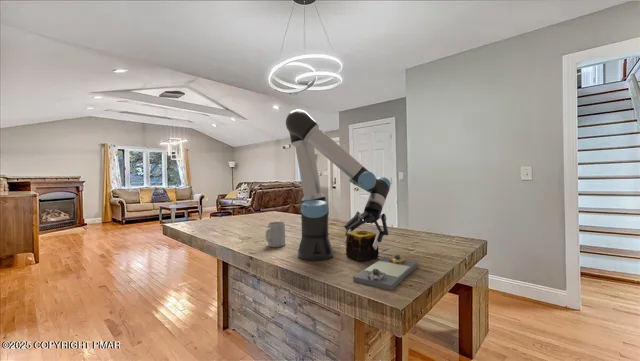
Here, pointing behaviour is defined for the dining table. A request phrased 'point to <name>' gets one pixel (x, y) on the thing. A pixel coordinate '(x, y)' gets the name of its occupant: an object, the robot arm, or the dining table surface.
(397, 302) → the dining table surface
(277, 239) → the mug
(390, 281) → the gear board
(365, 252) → the candle
